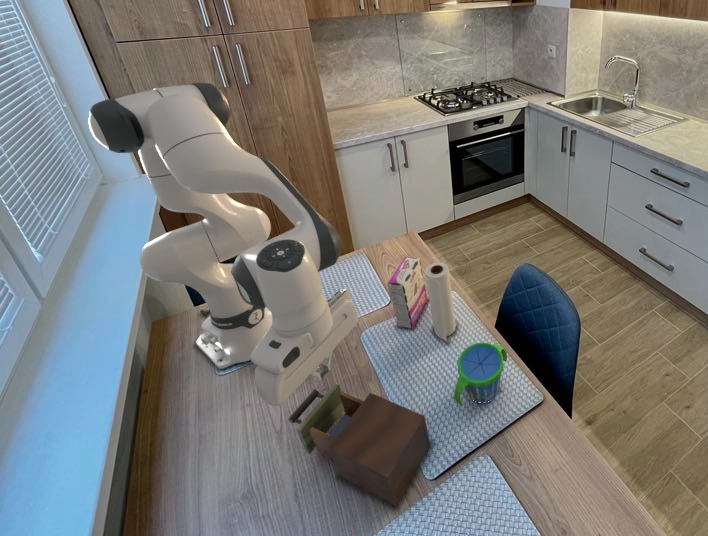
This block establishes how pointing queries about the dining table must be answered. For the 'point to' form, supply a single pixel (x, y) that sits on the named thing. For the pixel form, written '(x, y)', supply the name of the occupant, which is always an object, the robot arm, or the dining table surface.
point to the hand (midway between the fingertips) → (322, 374)
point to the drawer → (323, 418)
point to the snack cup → (480, 372)
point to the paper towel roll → (440, 299)
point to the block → (339, 426)
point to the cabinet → (381, 448)
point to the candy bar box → (407, 292)
